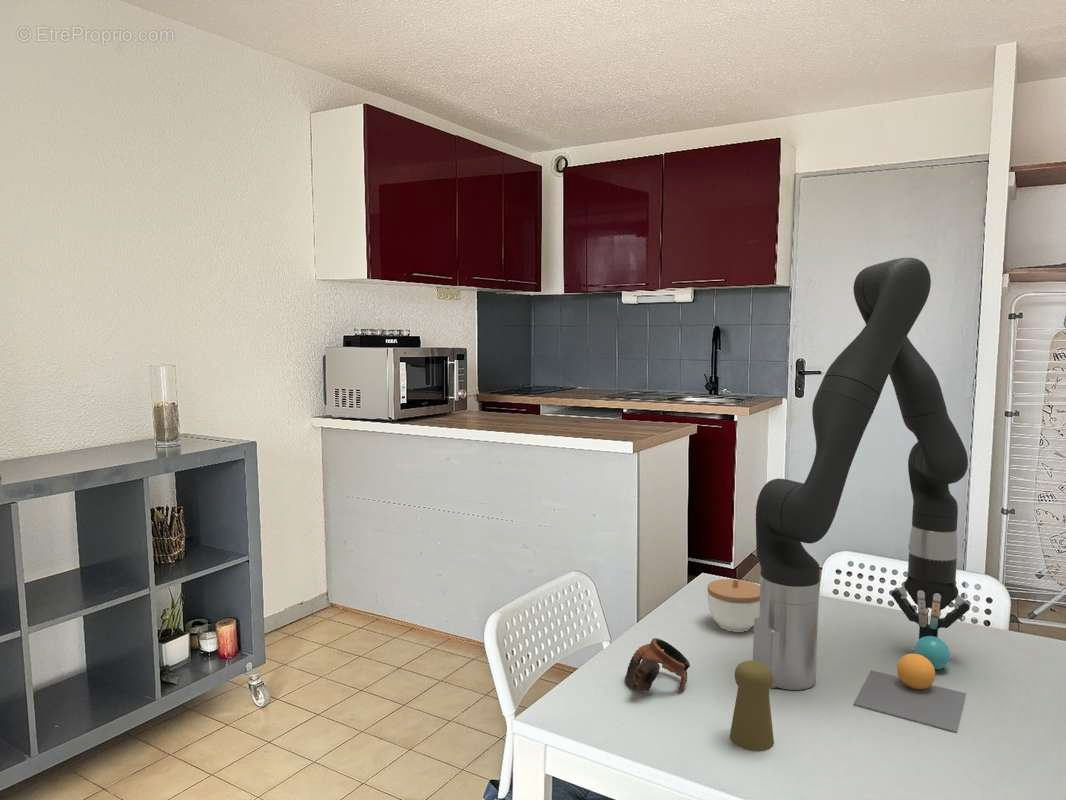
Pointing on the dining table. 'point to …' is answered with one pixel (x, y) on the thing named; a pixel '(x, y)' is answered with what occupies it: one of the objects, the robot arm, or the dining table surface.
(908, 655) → the orange ball
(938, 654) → the teal cue ball
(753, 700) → the olive pepper mill
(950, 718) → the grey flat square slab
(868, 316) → the robot arm
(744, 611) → the lidded jar
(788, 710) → the dining table surface
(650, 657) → the brown smartwatch
